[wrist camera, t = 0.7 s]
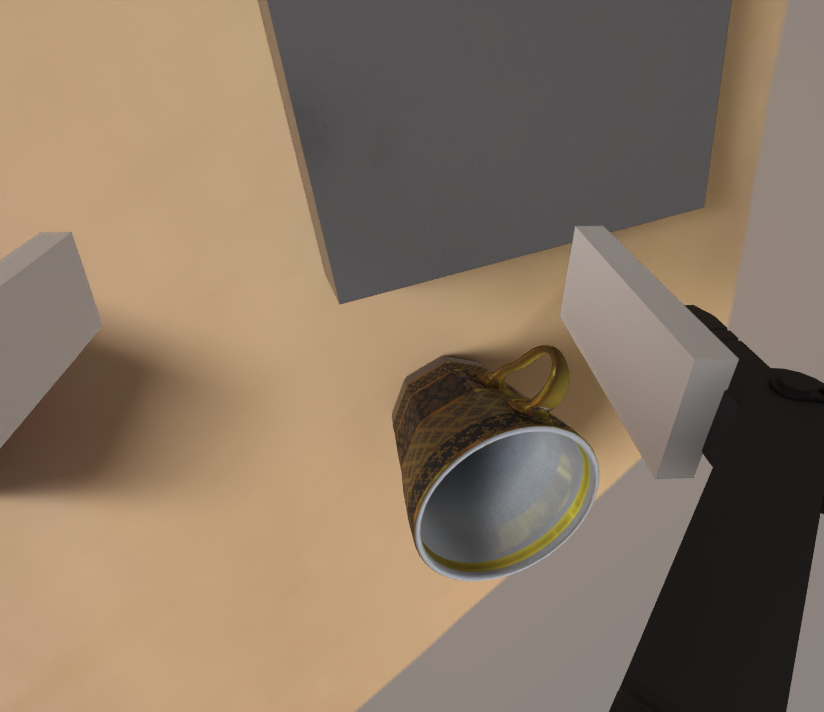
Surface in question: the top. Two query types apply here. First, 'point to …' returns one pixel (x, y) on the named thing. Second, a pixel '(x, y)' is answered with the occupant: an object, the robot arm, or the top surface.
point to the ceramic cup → (489, 467)
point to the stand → (490, 124)
